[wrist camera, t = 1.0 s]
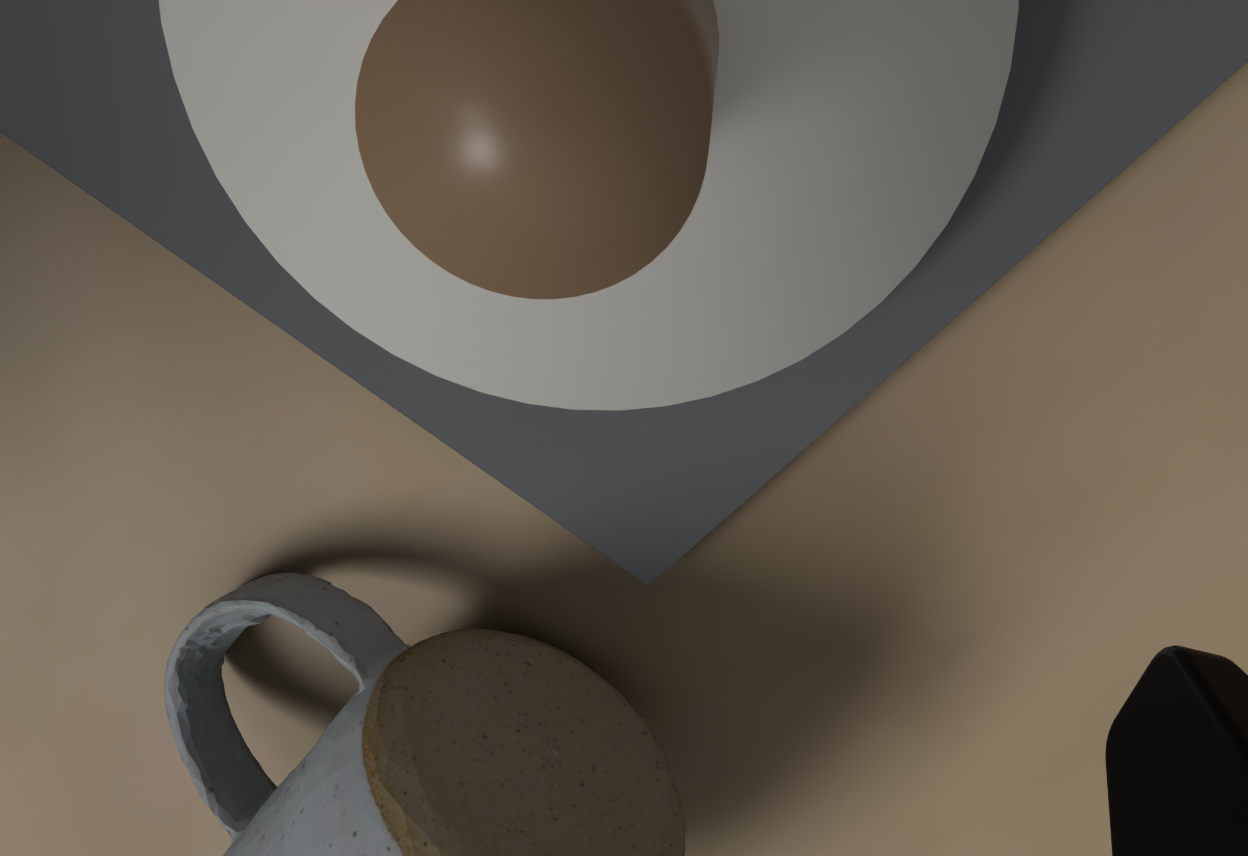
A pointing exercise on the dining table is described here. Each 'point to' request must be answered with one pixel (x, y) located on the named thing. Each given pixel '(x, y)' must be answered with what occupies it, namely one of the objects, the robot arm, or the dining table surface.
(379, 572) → the dining table surface
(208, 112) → the lid
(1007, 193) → the mat
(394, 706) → the ceramic mug
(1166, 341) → the dining table surface
